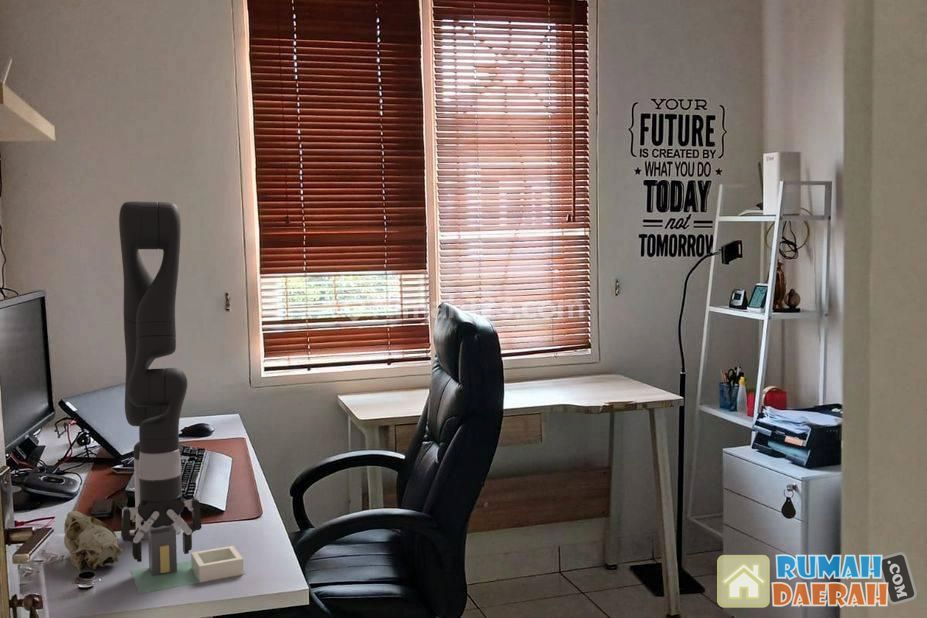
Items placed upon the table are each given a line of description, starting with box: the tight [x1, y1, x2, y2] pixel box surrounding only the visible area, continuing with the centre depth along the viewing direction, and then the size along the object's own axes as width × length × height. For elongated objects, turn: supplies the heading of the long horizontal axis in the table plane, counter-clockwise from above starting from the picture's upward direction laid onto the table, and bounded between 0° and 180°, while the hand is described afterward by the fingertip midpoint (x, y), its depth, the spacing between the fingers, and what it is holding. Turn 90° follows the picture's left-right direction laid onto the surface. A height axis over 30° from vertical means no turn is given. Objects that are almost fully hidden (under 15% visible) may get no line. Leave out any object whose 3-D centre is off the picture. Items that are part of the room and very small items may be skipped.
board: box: [130, 560, 247, 595], centre depth 160 cm, size 12×19×1 cm, turn 118°
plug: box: [147, 524, 178, 576], centre depth 161 cm, size 5×4×8 cm
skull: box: [63, 510, 124, 572], centre depth 166 cm, size 10×16×10 cm, turn 50°
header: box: [190, 545, 244, 583], centre depth 161 cm, size 8×8×3 cm
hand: (162, 556), depth 161 cm, fingers open, 8 cm apart
